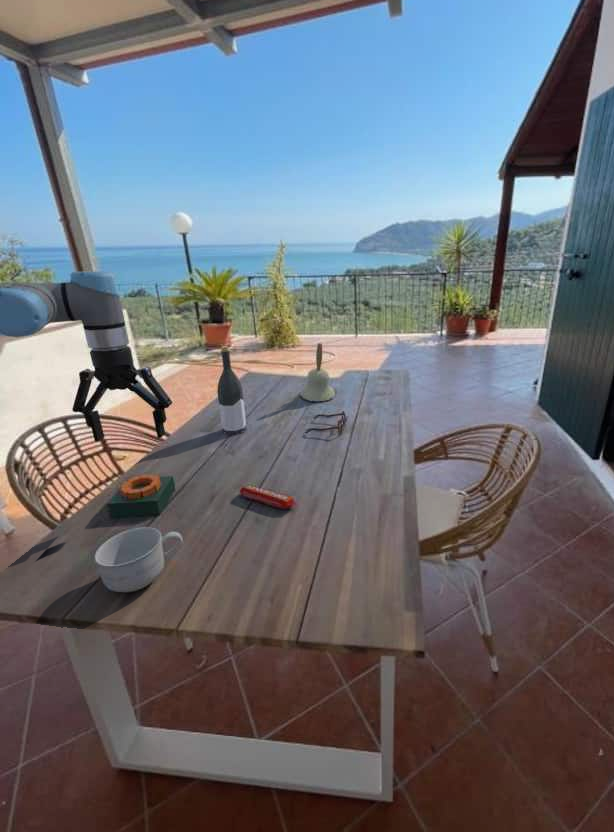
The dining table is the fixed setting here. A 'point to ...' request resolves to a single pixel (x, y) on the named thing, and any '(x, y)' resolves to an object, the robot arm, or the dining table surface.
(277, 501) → the candy bar
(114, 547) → the teacup
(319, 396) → the handbell
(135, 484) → the ring
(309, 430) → the glasses
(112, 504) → the block
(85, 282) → the robot arm
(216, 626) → the dining table surface
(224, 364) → the wine bottle
